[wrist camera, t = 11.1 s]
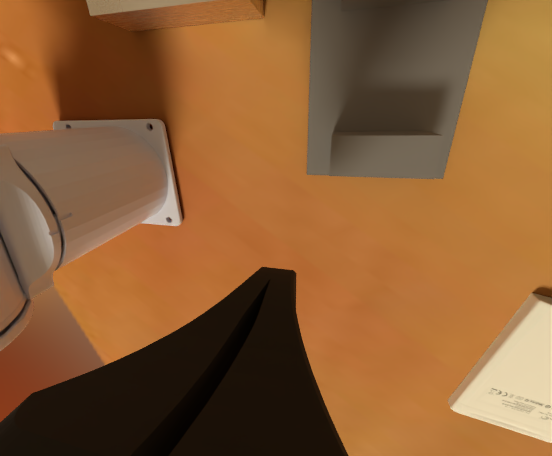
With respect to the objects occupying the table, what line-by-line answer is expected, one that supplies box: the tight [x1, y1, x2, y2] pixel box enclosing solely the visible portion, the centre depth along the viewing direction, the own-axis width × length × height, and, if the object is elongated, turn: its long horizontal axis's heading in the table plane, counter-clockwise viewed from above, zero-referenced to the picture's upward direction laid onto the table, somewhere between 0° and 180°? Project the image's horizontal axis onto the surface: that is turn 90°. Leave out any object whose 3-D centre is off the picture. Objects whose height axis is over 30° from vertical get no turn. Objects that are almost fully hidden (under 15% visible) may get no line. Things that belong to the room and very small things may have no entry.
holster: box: [307, 0, 488, 179], centre depth 12 cm, size 8×11×4 cm
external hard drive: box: [448, 293, 552, 443], centre depth 19 cm, size 2×8×12 cm
